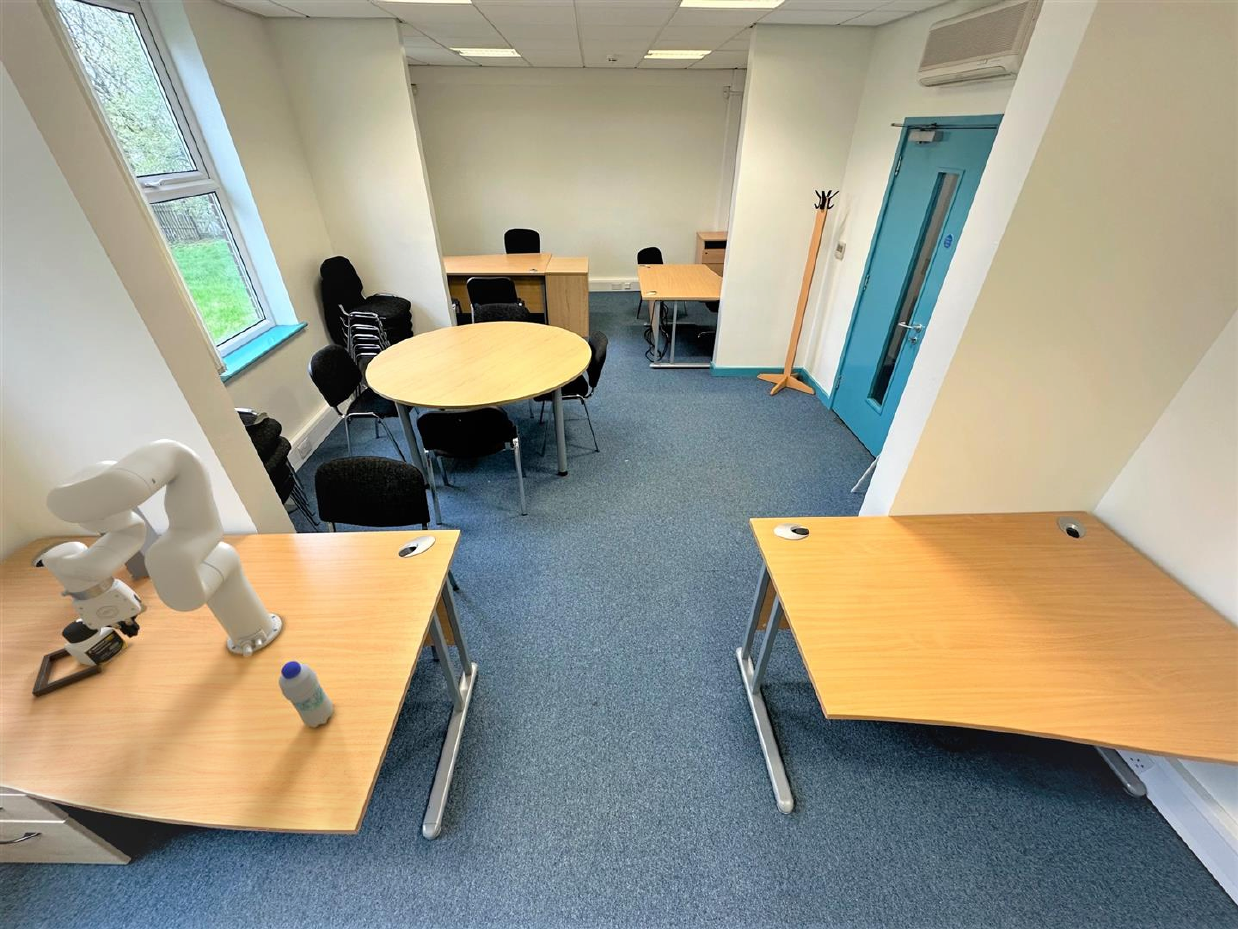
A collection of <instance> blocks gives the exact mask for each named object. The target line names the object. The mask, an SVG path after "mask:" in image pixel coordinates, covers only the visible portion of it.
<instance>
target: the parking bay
mask: <svg viewBox="0 0 1238 929" xmlns="http://www.w3.org/2000/svg"><path fill="white" fill-rule="evenodd" d="M69 656H72V655H71V654H70V653H69V652H68V651H67V650H66V649H65V648H64V647H63V648H61V649H57V650H55V651H53V652H50V653H47V654H45V655H43V657H42V661H41V664H40V666H39V670H38V673H37V676H36V679H35V682H34V686H33V687H32V688H33V689H32V691H31V694H32V695H33V696H34V697H36V699H38V698H40V697H43V696H46V695H48V694H51V693H53V692H56V691H58V690H61V689H63V688H66V687H68V686H71V685H73V684H76V683H78V682H80V681H83V680H86V679H88V678H91V677H94V676H96V675H99V674H101V673H102V670H103V669H102V667H101V668H100V667H99V666H98V665H95V666H90V667H87V668H85V669H83V670H80V671H77V672H74V673H72V674H69V675H67V676H65V677H62V678H59V679H57V680H54V681H52V682H49V679H50V676H51V673H52V669H53V666H54V663H55V661H58V660H61V659H63V658H66V657H69Z"/></svg>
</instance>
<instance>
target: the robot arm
mask: <svg viewBox="0 0 1238 929" xmlns="http://www.w3.org/2000/svg"><path fill="white" fill-rule="evenodd" d="M164 487H165V493H164V498H163V499H164V500H163V506H164V511H165V514H166V516H167V519H168V527H167V529H166V530H165V531H164V532H163V534H161V535H160V536H159V538H158V539H157V540H156V541H155V542H154V543H153V544H152V545H151V546H150V547H149V549H148V550H147V552H146V555H145V566H146V569H147V571H148V574H149V576H148V577H149V579H150V581H151V583H152V585H153V587H154V590H155V592H156V594H157V596H158V598H159V600H160V601H161V602H162V603H163V604H164V606H166V607H168V608H169V609H172V610H173V611H176V612H182V613H187V612H189V613H190V612H193V611H196V610H198V609H200V608H202V607H203V606H205V604H206V606H207V607H208V608H209V610H210V611H211V613H212V614H213V615H214V617H215V619H216V620H217V621H218V622H219V624H220V625H221V627H222V628H223V629H224V631H225V632H226V634H227V635H228V637H227V640H226V646H227V649H228V650H229V651H230V652H231V653H233V654H236V655H242V656H243V657H244V658H249V657H251V656H253V653H254V652H256V651H258V650H261V649H263V648H264V647H266V646H267V645H269V644H270V643H271V642H273V641H274V640H275V639H276V638H277V637H278V635H279V634H280V632H281V630H282V626H283V621H282V620H281V618H280V617H279V616H278V615H277V614H275V613H269V612H268V610H267V608H266V607H265V605H264V603H263V602H262V600H261V599H260V597H259V595H258V594H257V592H256V590H255V589H254V587H253V586H252V584H251V582H250V580H249V578H248V577H247V575H246V573H245V571H244V568H243V564H242V561H241V560H242V559H241V558H240V555H239V553H238V552H237V550H236V549H235V547H233V546H232V545H231V544H229V543H227V542H225V541H222V540H223V538H224V528H223V524H222V521H221V517H220V514H219V509H218V506H217V504H216V501H215V497H214V492H213V487H212V481H211V476H210V473H209V469H208V467H207V465H206V463H205V462H204V460H203V459H202V458H201V456H200V455H199V454H198V453H197V452H195V451H194V450H193V449H192V448H190V447H189V446H187V445H186V444H184V443H182V442H179V441H178V440H174V439H173V440H172V439H157V440H153V441H150V442H148V443H146V444H145V443H144V444H143V445H141V446H140V447H137V448H136V449H135V450H133V451H132V452H131V453H128V454H127V455H126V456H124V457H122V459H120V460H118V461H116V460H114V461H113V460H103V461H98V462H94V463H91V464H89V465H87V466H85V467H84V468H81V469H80V470H78V471H77V472H76V473H74V474H72V475H71V476H69V477H68V478H67V479H65V480H63V481H62V482H61V483H59V484H57V485H55V486H54V487H53V488H52V489H50V491H49V492H48V494H47V497H46V505H47V508H48V510H49V511H50V513H51V514H52V515H53V516H54V517H56V518H58V519H59V520H61V521H64V522H66V523H70V524H77V525H78V526H79V527H80V528H82V529H83V530H85V531H88V532H90V533H95V534H100V533H106V534H105V535H104V536H103V537H102V536H101V537H100V538H99V539H97V540H96V541H95V542H94V543H93V544H91V545H90V546H88V545H86V544H85V543H83V542H80V541H69V542H64V543H61V544H58V545H56V546H54V547H52V548H50V549H48V550H47V551H46V552H45V553H44V554H43V555H42V557H41V563H42V565H43V566H44V567H45V568H46V569H47V571H48V572H49V573H50V574H51V575H52V576H53V577H54V578H55V579H56V580H57V581H58V582H59V583H60V584H61V585H62V586H63V587H64V590H63V591H60V594H61V596H62V597H67V596H68V597H69V596H70V597H71V600H70V602H71V605H72V606H73V609H74V610H75V612H76V614H77V615H78V617H79V619H82V621H83V622H84V623H85V624H86V625H87V626H88V627H89V628H90V629H99V628H103V627H107V628H111V629H114V630H118V631H120V632H121V633H122V634H123V635H124V636H127V637H128V638H129V639H132V638H134V637H137V636H138V635H139V631H140V629H141V626H140V625H139V623H138V622H137V621H136V618H138V616H139V615H141V614H143V613H146V612H147V608H148V606H147V605H145V604H144V603H143V600H142V599H141V597H140V596H139V595H138V594H137V593H136V592H135V591H134V590H133V589H132V588H131V587H129V586H128V585H127V584H126V583H125V582H123V581H122V580H120V579H118V578H114V577H113V575H114V574H116V572H118V571H119V570H120V569H121V568H122V567H123V566H125V563H126V562H127V561H128V560H129V559H130V558H131V557H132V556H134V555H135V554H136V553H137V552H138V551H139V550H140V549H141V548H142V546H143V544H144V542H145V537H146V524H145V522H144V521H143V519H142V518H141V517H140V516H139V515H137V514H136V513H134V512H133V511H132V509H133V508H135V507H137V506H138V507H140V506H141V505H142V504H144V503H146V501H148V500H149V499H150V498H152V497H153V496H154V495H155V494H157V492H159V491H160V490H161V489H162V488H164ZM87 546H88V547H87Z"/></svg>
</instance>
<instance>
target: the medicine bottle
mask: <svg viewBox="0 0 1238 929" xmlns="http://www.w3.org/2000/svg"><path fill="white" fill-rule="evenodd" d="M61 636H62V637H63V638H64V639H65V640H66V641H67V642H66V643H65V644H64V645H63V646H62V647H63V648H65V649H66V650H67V651H68V652H69V653H70V654H71V655H70V656H72V657H73V659H75V660H76V661H77V662H78V663H79V664H80V665H81V664H82V665H86V666H90V667H92V666H95V665H98V666H99V667H100V668H101V669H102V668H103V667H104V666H105V665H106V664H108V663H109V662H110V661H112V660H113V659H114V658H115V657H116V656H118V655H119V654H120V653H121V652H122V651H124V650H125V649H126V648H128V647H129V644H128V643H127V641H125V640H124V639H123V637H122V636H121V635H120V634H119V633H118V632H117V631H116V629H114V628H110V627H103V628H99V629H90V628H89V627H88V626H87V625H86V624H85V623H84V622H83V621H82V619H81V618H78V619H76V620H74V621H72V622H70V623H69V624H68V625H66V626H65V627H64V628H63V630H62V632H61Z"/></svg>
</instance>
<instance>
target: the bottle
mask: <svg viewBox="0 0 1238 929" xmlns="http://www.w3.org/2000/svg"><path fill="white" fill-rule="evenodd" d="M280 672H281V675H280V676H279V679H278V685H279V688H280V690H281V694H282V695H283V697H284V698H285V699H286V700H287V701H290V703H291V704H292V706H293V707H294V708H295V710H296V712H297V713H298V715H299V717H300V719H301V721H302V723H304V725H306V726H309V727H311V728H318V727H319V725H325V724H327V722H328V719H329V718H331V717H333V714H334V708H333V707H334V704H333V702H332V700H331V699H330V698H329V696H328V695H327V694H326V693H325V691H324V689H323V687H322V686H321V684H320V683H319V678H318V675H317V673H316V672H315V671H314V670H313V669H312V668H311V667H310V666H309V665H308V664H306V663H299V661H296V660H293V661H292V660H291V661H288V662H286V663H285V664H283V666H282V668H281V670H280Z"/></svg>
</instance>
